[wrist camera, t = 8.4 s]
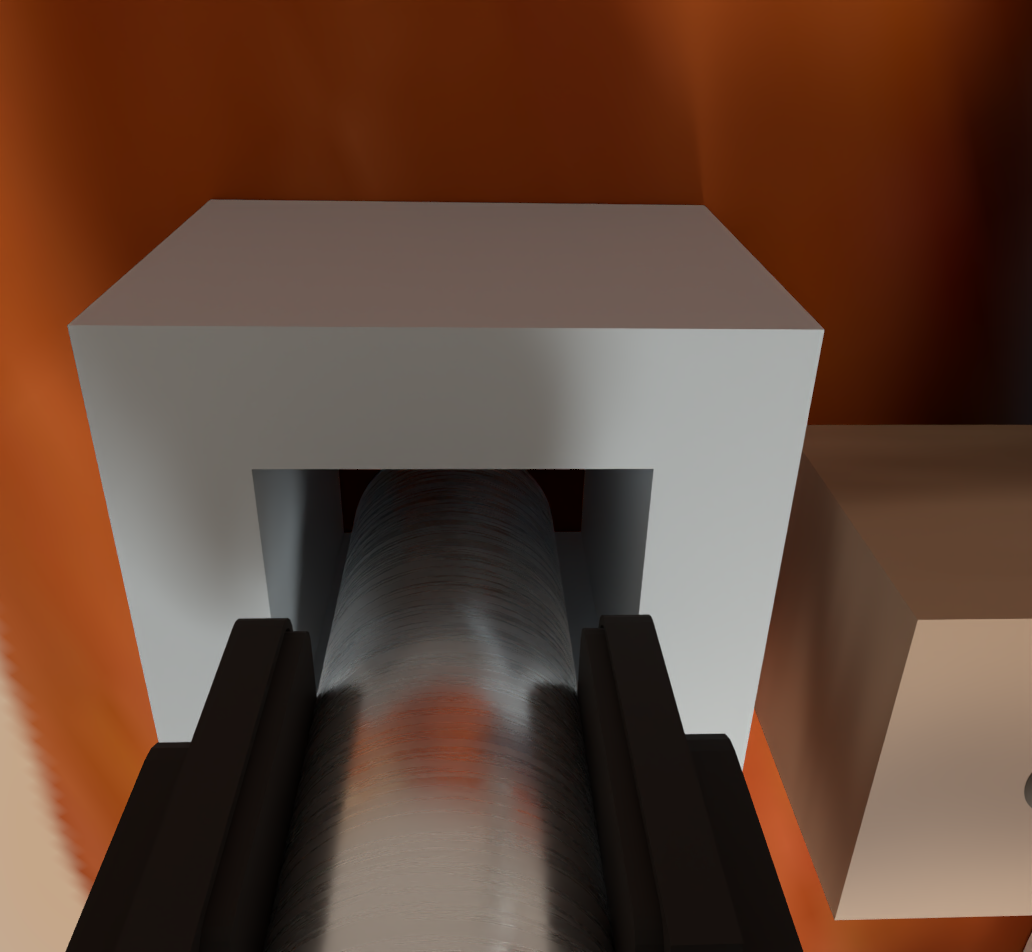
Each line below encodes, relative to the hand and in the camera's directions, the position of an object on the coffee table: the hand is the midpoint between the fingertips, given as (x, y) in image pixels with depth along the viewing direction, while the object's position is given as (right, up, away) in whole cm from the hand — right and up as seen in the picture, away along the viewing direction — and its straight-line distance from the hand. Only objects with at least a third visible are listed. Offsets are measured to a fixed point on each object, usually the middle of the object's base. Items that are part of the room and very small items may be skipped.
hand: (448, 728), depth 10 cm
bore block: (0, +4, +7) cm, 8 cm away
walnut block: (+9, +1, +9) cm, 12 cm away
